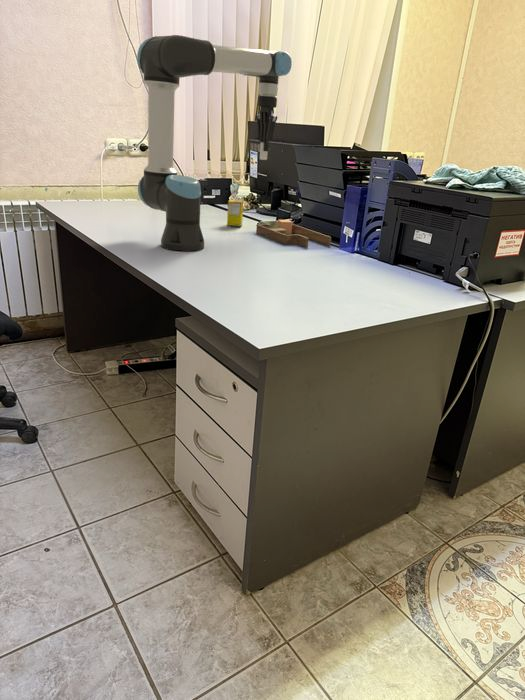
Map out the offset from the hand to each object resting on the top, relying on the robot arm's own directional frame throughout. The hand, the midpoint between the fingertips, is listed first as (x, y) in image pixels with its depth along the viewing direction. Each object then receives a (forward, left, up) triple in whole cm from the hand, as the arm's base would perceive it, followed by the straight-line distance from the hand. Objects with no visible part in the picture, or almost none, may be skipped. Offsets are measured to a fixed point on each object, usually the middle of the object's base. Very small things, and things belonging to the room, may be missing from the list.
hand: (263, 159), depth 208 cm
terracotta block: (+7, -9, -29) cm, 31 cm away
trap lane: (+3, -19, -28) cm, 34 cm away
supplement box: (-8, +7, -29) cm, 31 cm away
